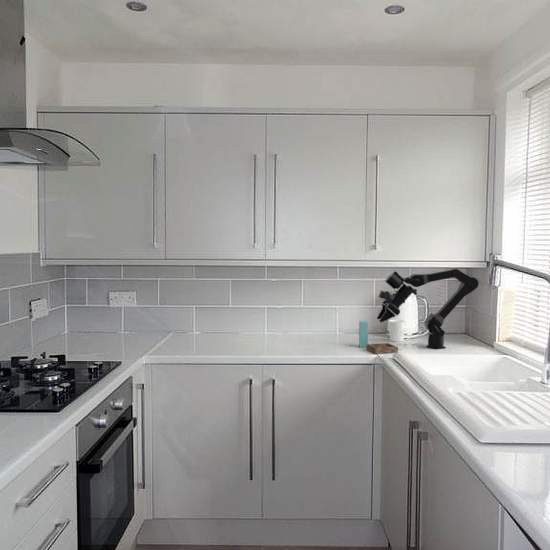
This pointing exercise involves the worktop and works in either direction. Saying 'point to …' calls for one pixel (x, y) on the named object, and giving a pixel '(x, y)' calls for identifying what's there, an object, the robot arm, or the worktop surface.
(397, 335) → the white cup
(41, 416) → the worktop surface
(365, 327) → the peg
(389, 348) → the tray
